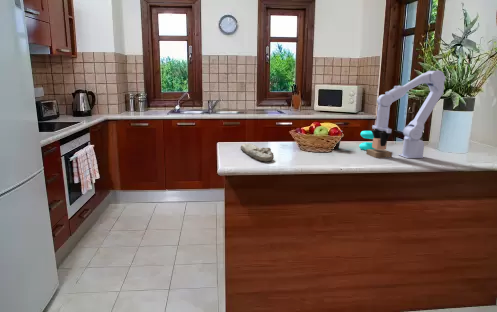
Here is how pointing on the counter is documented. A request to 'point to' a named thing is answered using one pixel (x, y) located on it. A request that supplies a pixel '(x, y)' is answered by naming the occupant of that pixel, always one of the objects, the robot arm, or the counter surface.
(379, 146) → the cube
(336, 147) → the coffee mug
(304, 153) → the counter surface
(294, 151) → the counter surface
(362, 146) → the donuts
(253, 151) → the long grey stone
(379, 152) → the slab
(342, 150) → the counter surface
